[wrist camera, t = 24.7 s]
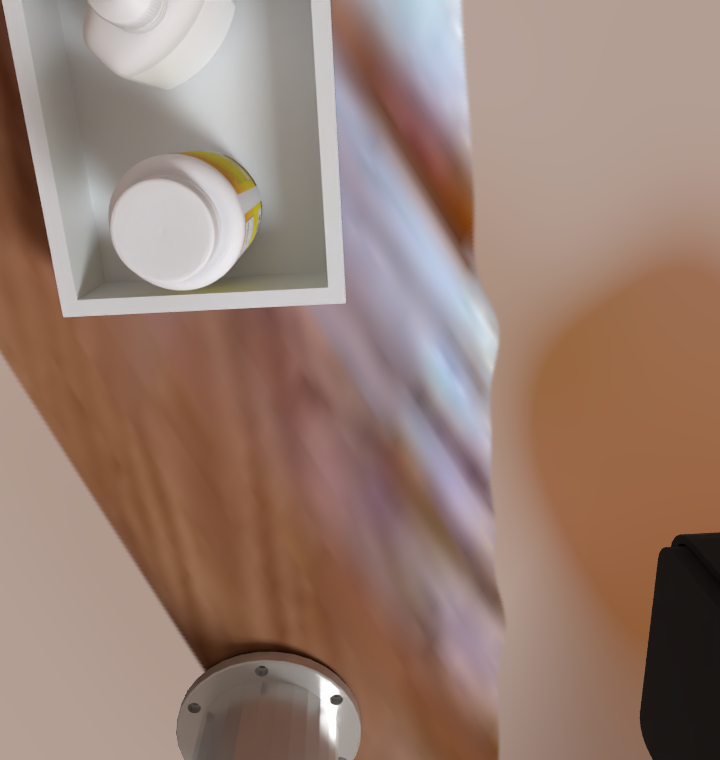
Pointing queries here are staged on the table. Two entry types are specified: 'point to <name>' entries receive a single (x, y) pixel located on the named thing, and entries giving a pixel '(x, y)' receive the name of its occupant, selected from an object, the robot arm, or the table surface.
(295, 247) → the box
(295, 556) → the table surface
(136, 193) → the supplement bottle
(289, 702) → the robot arm
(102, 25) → the eye dropper bottle
